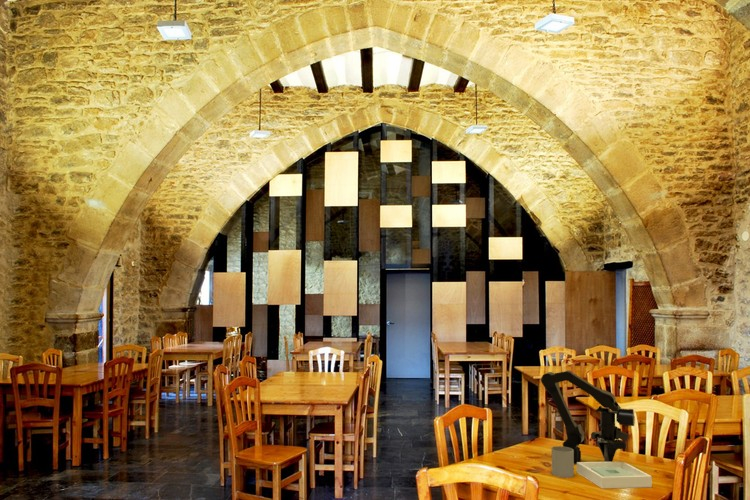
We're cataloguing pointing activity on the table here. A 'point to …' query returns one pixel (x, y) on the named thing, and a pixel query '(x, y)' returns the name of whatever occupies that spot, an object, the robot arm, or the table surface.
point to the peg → (605, 454)
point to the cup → (562, 461)
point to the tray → (615, 479)
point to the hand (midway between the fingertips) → (608, 461)
